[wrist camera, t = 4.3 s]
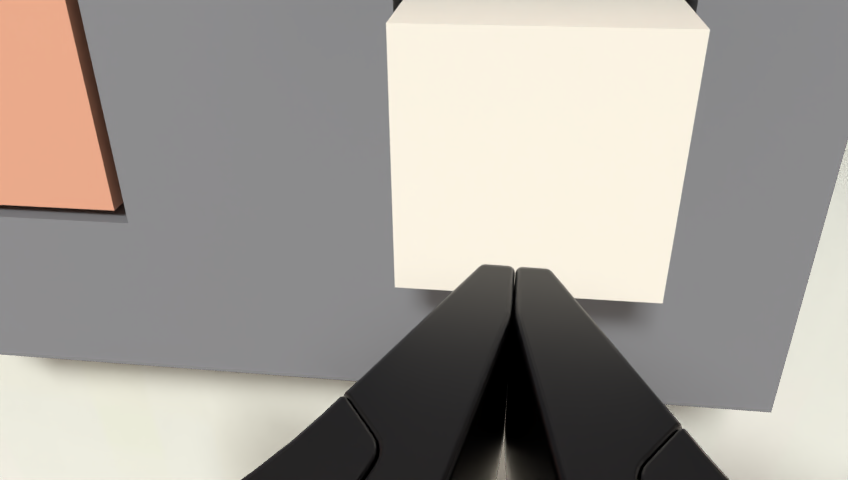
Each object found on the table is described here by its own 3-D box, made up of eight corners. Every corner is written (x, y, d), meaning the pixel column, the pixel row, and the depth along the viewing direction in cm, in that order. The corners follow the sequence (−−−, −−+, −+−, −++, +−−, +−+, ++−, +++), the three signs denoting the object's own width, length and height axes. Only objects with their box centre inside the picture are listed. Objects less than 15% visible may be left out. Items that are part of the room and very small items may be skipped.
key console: (833, -272, 16) (975, -317, 11) (716, 278, 23) (771, 412, 18) (-169, -248, 19) (-435, -275, 14) (-9, 237, 26) (-146, 343, 21)
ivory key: (668, -19, 15) (710, 29, 11) (636, 207, 17) (662, 303, 14) (419, -22, 15) (385, 23, 12) (421, 197, 18) (394, 287, 14)
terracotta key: (150, -45, 18) (61, -13, 15) (183, 146, 21) (114, 210, 17) (-38, -46, 19) (-164, -17, 16) (16, 139, 21) (-84, 200, 18)
